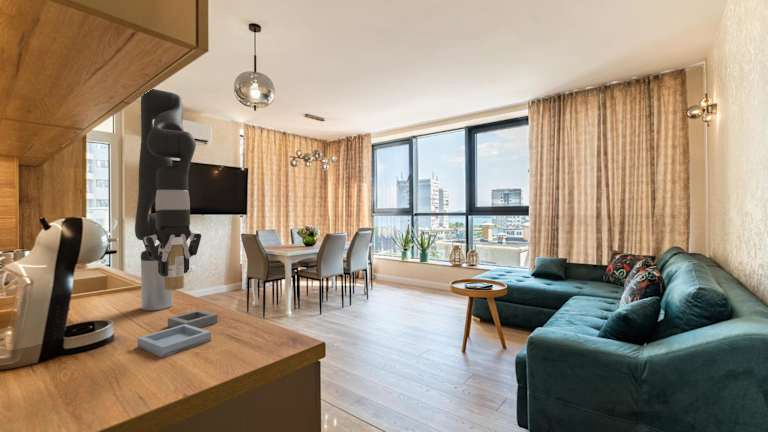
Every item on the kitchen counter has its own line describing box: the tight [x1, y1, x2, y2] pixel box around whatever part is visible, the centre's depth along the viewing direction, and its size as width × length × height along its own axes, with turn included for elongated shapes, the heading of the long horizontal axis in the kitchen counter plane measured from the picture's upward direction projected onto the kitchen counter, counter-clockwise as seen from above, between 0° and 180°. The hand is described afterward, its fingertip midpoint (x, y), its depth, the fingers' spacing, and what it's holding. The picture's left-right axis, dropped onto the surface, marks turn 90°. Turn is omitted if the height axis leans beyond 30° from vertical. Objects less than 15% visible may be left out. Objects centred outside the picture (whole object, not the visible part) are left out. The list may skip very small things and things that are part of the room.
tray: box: [137, 324, 212, 358], centre depth 89 cm, size 12×12×2 cm
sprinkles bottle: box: [164, 237, 185, 291], centre depth 89 cm, size 5×5×14 cm
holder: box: [167, 309, 218, 329], centre depth 104 cm, size 10×10×2 cm
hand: (174, 274), depth 89 cm, fingers closed on sprinkles bottle, 4 cm apart
